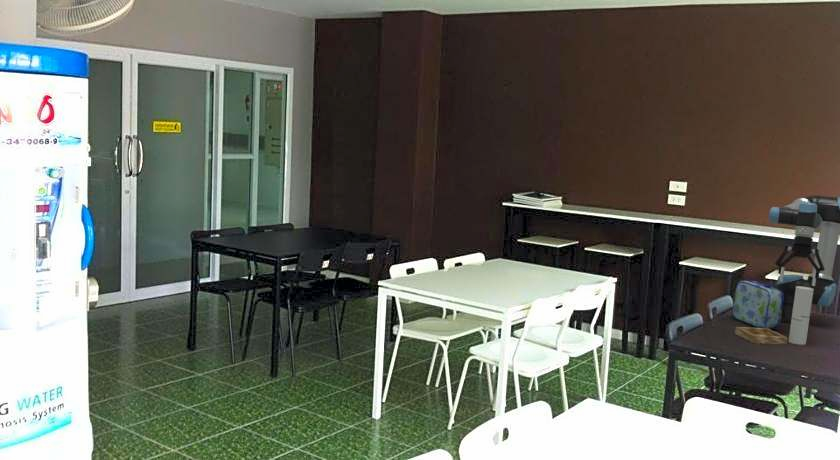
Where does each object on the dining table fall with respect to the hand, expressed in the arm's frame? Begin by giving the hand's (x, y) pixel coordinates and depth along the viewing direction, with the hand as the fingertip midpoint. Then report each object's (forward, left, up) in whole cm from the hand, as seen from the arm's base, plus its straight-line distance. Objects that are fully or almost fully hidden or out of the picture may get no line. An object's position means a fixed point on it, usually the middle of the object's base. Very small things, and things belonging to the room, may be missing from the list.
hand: (797, 283), depth 366 cm
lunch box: (0, -30, -27) cm, 40 cm away
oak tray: (+14, -1, -26) cm, 30 cm away
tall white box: (-2, +2, -26) cm, 27 cm away
